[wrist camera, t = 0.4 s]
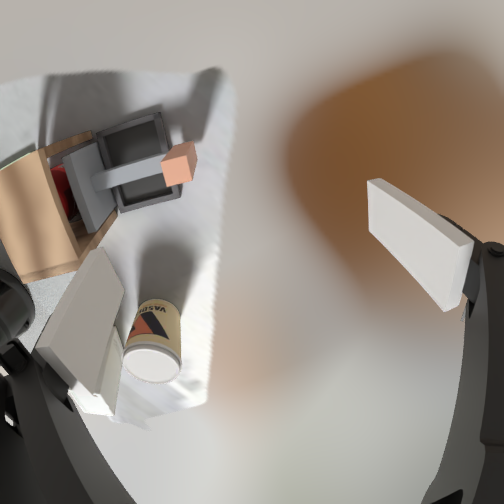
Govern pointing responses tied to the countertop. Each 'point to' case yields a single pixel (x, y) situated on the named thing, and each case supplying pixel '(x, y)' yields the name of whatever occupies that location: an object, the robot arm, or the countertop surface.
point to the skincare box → (105, 380)
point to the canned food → (64, 191)
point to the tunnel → (42, 218)
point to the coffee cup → (154, 343)
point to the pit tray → (134, 148)
